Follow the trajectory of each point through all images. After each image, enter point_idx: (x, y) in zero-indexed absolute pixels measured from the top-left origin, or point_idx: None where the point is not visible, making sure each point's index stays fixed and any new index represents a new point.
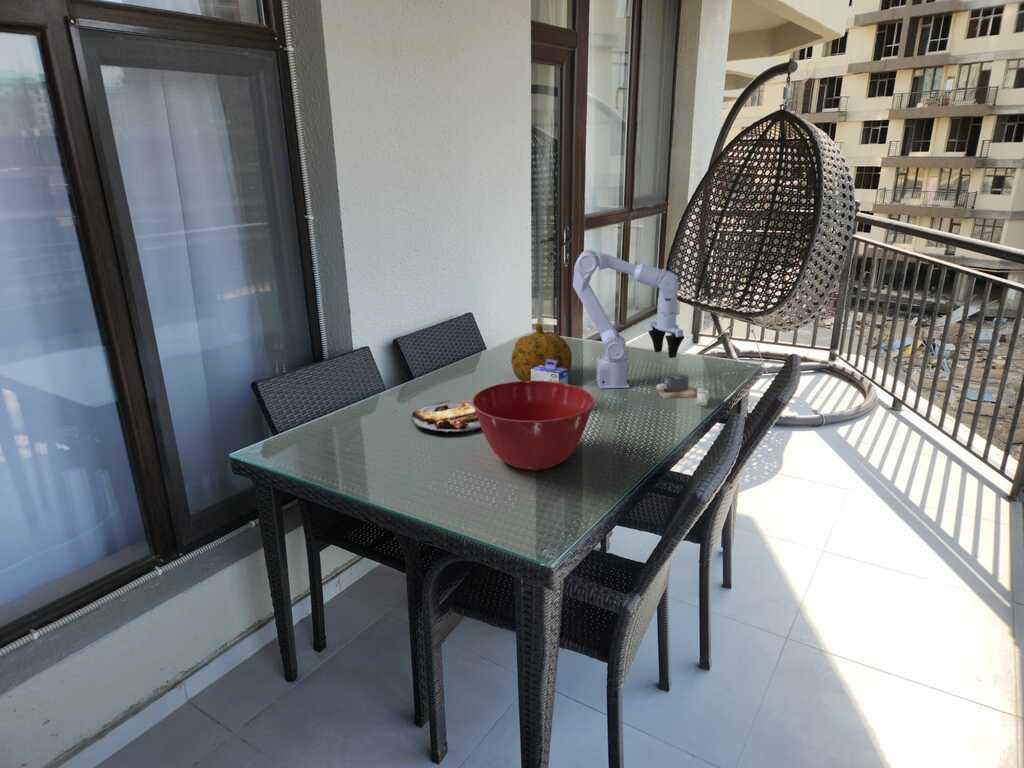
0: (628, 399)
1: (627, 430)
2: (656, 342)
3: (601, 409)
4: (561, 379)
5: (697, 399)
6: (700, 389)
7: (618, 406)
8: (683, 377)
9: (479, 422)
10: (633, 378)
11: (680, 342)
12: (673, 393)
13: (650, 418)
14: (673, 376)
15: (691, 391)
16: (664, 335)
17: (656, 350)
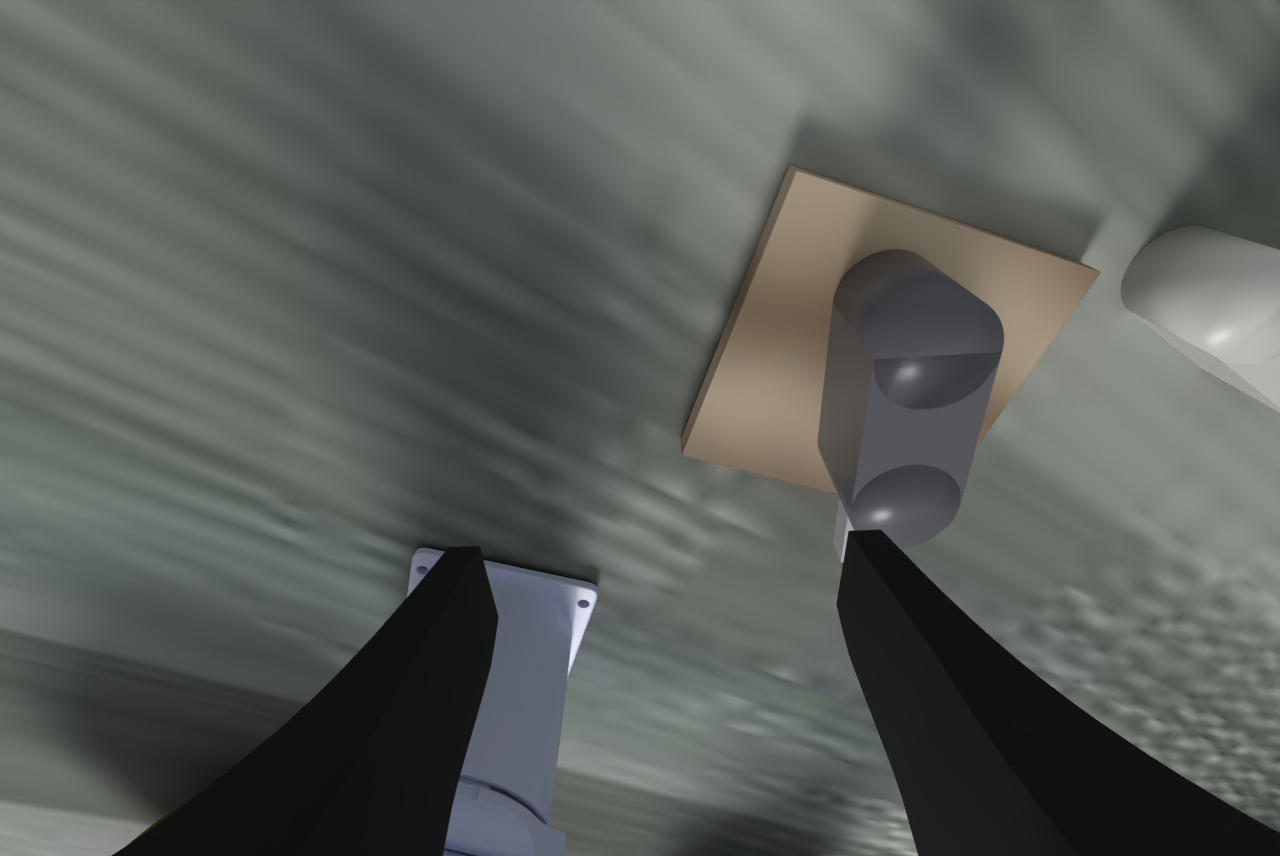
0: (796, 661)
1: None
2: (443, 766)
3: (851, 786)
4: None
5: (1249, 395)
6: (1259, 339)
7: (864, 729)
8: (978, 379)
9: None
10: (363, 462)
11: (1145, 773)
12: None
13: (1119, 690)
14: (879, 448)
15: (1009, 274)
16: (334, 799)
17: (489, 636)
